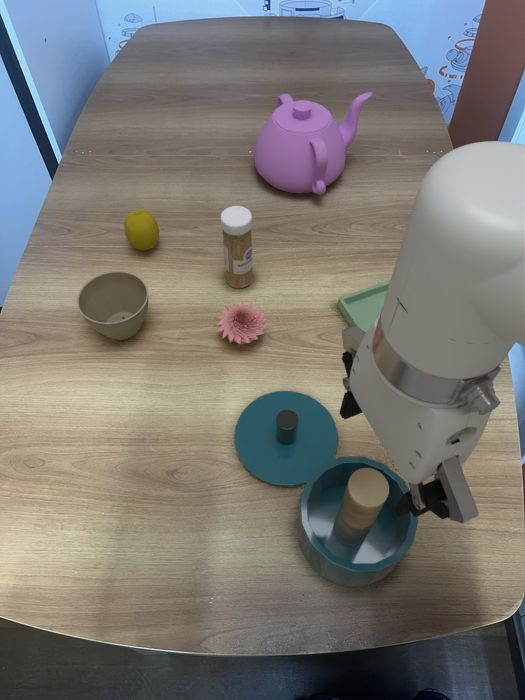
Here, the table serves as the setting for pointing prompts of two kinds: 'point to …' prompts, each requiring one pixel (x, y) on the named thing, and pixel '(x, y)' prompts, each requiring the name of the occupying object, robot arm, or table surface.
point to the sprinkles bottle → (237, 245)
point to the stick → (360, 506)
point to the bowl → (114, 303)
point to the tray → (363, 305)
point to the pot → (382, 540)
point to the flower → (242, 323)
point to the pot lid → (285, 437)
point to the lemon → (141, 229)
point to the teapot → (304, 145)
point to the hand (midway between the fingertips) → (382, 456)
